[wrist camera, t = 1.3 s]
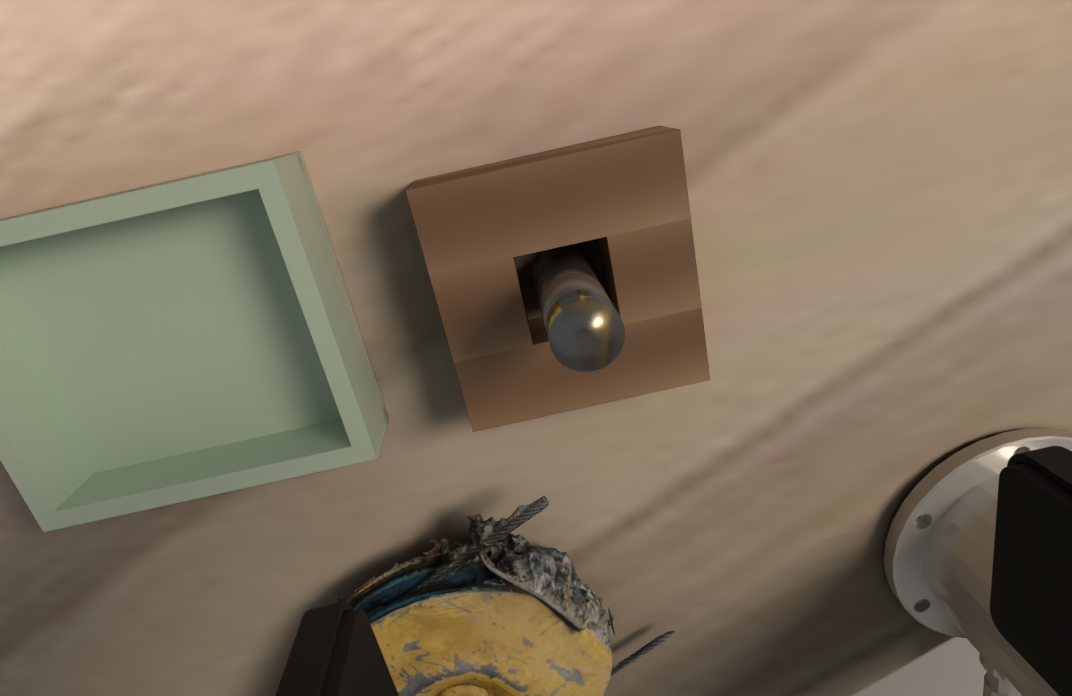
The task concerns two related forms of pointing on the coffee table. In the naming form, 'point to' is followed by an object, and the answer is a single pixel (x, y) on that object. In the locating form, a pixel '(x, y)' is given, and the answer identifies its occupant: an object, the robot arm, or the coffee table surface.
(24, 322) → the tray
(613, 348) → the pin
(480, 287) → the block
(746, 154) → the coffee table surface
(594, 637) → the pulley block
